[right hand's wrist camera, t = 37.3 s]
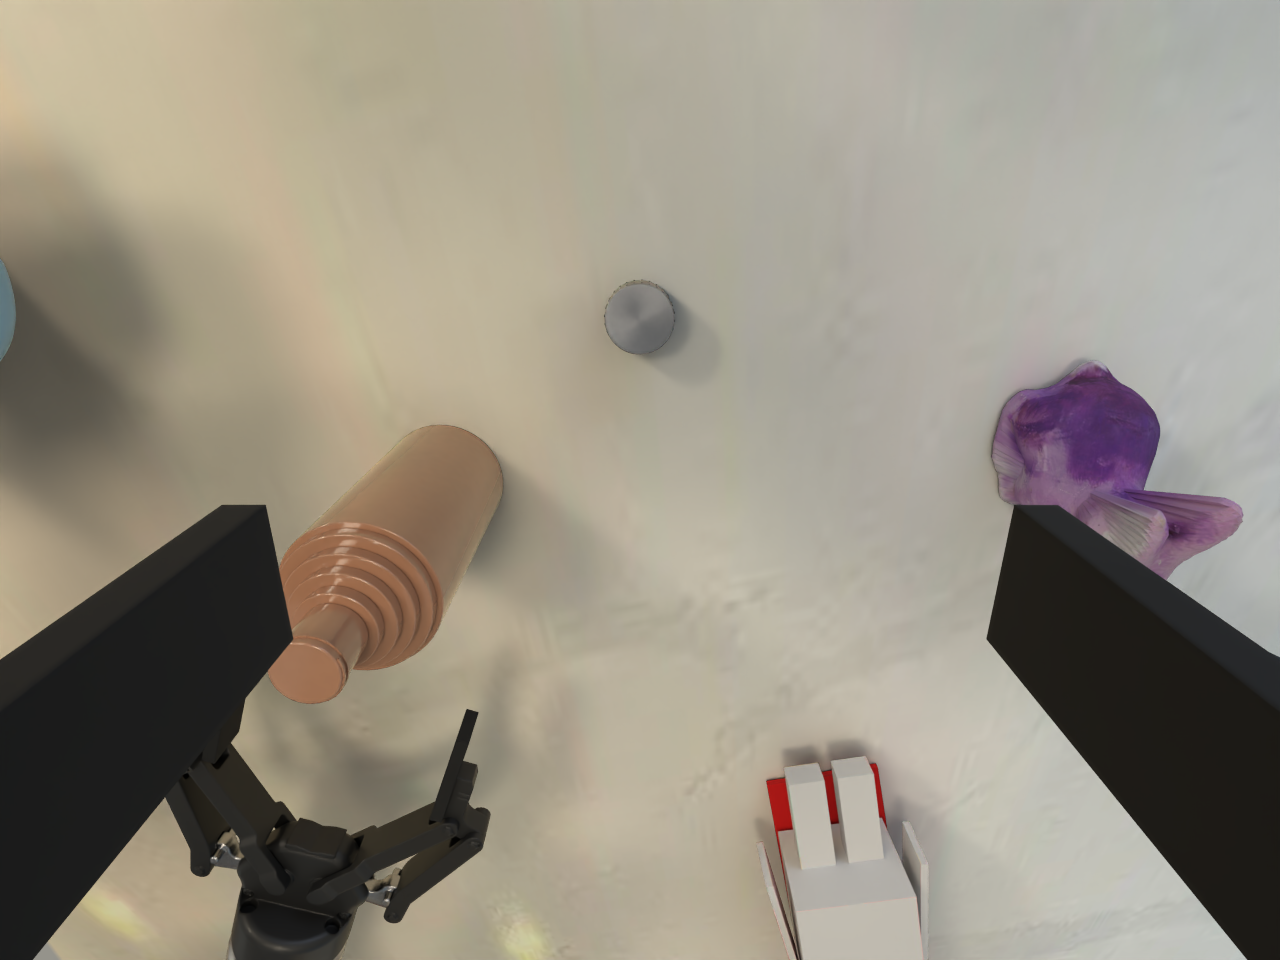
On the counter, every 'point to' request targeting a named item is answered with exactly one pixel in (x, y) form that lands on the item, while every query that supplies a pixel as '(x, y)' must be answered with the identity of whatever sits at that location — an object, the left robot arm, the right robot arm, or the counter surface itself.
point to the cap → (639, 317)
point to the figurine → (1103, 468)
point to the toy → (845, 868)
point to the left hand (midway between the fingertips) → (354, 693)
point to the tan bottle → (385, 561)
